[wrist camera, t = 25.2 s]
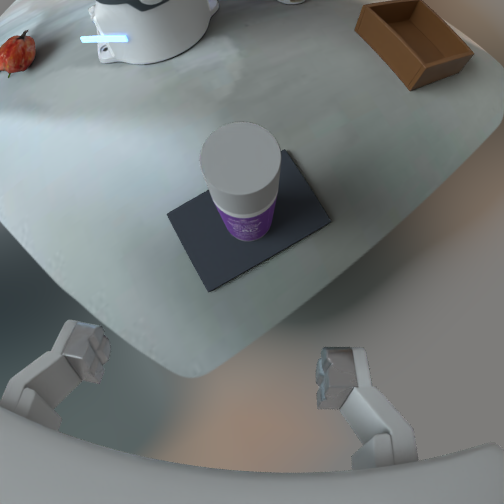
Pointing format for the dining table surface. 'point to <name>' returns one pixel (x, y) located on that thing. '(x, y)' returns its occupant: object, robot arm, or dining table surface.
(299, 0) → the pill bottle
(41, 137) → the dining table surface
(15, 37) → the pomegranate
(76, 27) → the dining table surface
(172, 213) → the pad
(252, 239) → the container
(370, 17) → the wooden tray
